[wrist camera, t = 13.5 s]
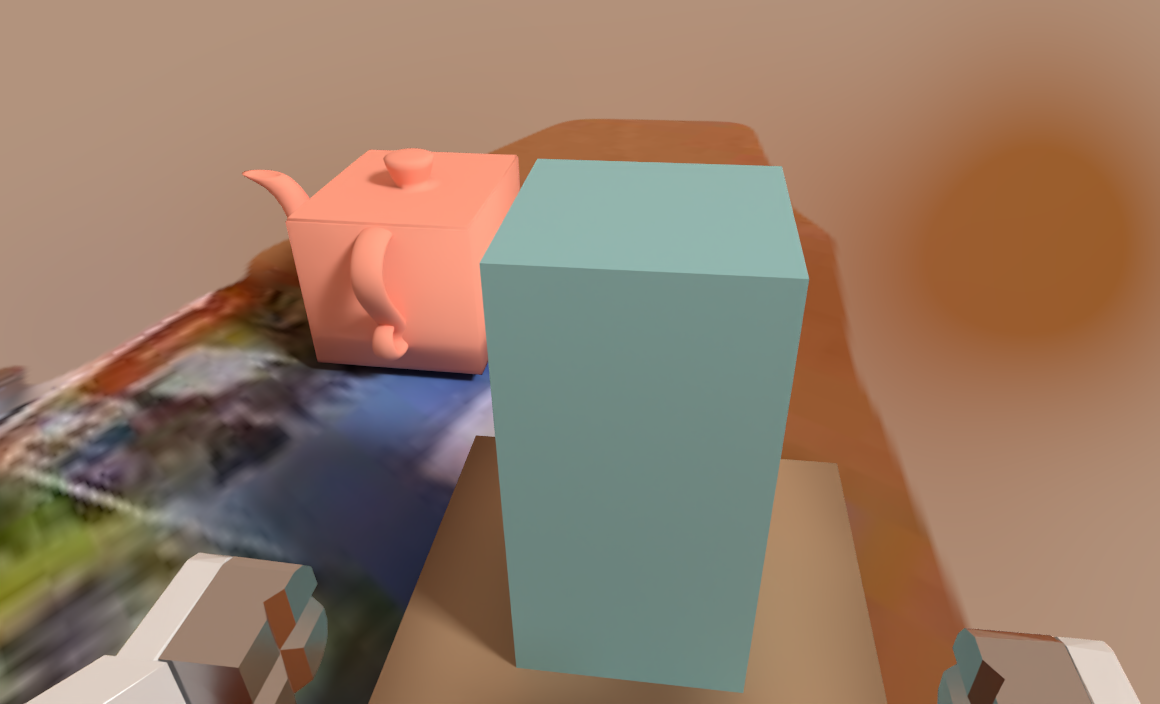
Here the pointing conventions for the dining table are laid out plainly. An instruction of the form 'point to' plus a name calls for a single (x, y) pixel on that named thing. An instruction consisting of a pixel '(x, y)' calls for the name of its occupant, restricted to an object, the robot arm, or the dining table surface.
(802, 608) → the walnut plinth
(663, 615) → the teal pillar
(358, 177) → the teapot
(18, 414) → the dining table surface
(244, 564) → the robot arm
